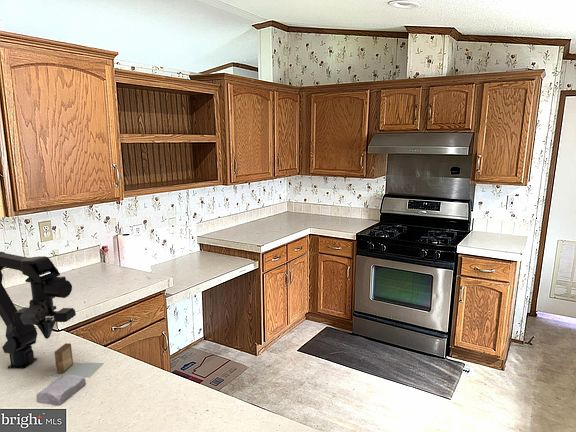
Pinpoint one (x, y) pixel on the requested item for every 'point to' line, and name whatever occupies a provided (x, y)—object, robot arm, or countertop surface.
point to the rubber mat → (79, 370)
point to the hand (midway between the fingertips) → (47, 338)
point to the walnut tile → (63, 358)
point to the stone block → (61, 390)
